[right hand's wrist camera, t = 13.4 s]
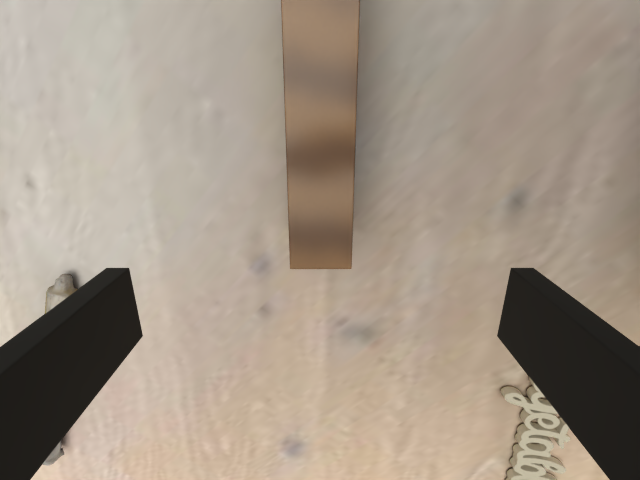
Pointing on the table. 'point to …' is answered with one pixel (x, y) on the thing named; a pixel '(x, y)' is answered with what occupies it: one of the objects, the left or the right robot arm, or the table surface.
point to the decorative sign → (535, 436)
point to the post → (320, 128)
